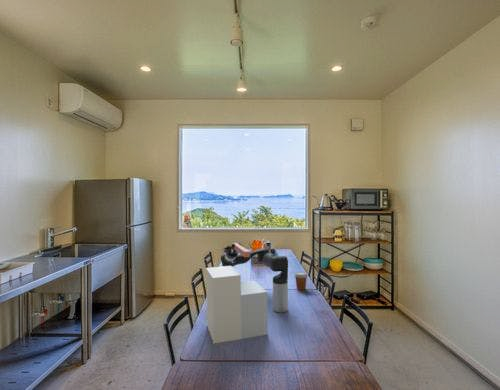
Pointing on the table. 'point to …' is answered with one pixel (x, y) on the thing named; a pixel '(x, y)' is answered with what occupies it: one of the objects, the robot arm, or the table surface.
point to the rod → (241, 250)
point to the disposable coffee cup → (301, 280)
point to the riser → (234, 306)
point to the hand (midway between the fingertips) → (237, 244)
